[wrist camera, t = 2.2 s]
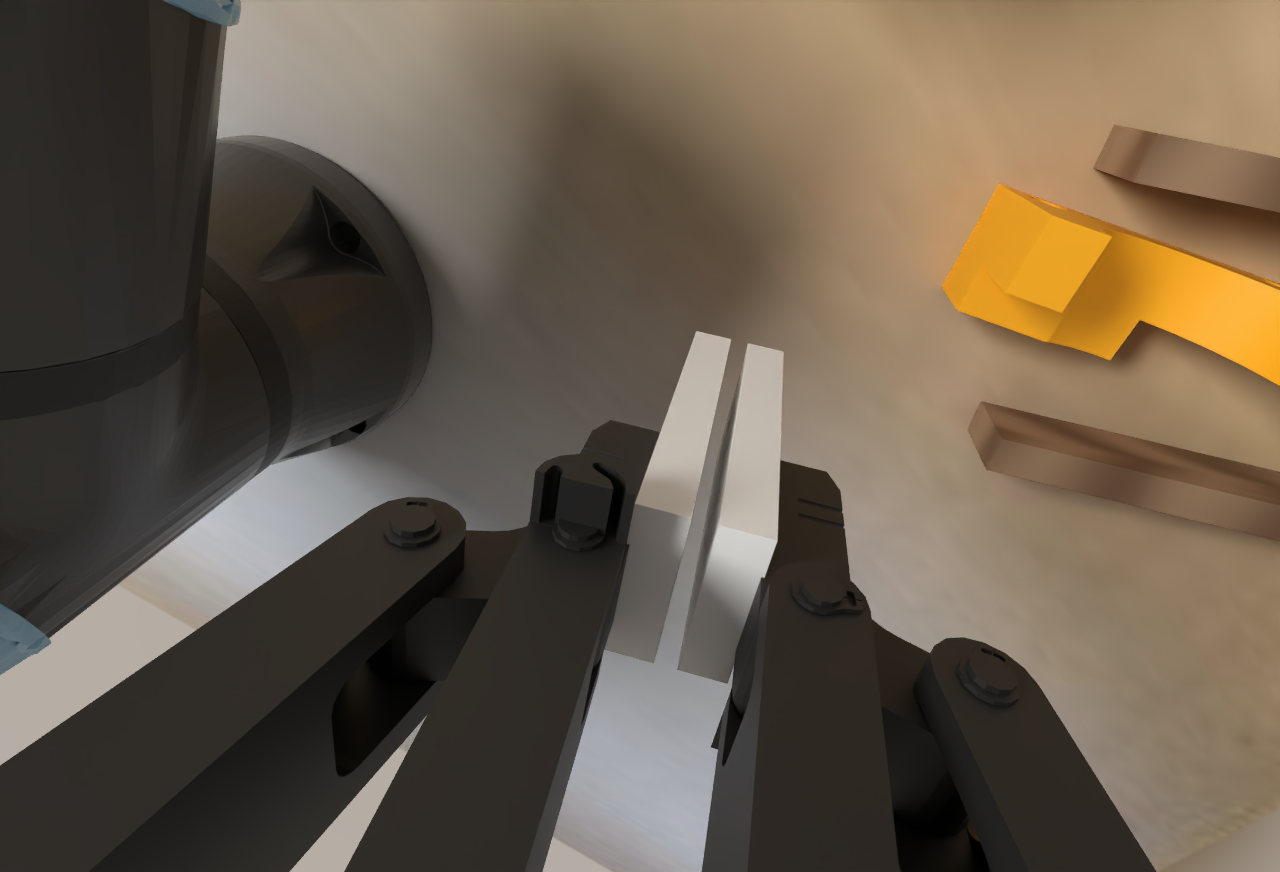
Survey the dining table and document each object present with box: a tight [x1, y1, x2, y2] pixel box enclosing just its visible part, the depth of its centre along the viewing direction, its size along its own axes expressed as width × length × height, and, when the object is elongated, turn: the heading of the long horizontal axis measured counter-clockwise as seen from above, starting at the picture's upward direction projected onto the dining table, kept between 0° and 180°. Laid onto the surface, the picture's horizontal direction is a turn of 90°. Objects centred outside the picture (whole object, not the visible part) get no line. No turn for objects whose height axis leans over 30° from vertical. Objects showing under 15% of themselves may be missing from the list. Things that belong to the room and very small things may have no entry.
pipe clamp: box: [942, 184, 1280, 386], centre depth 25 cm, size 12×4×6 cm, turn 72°
